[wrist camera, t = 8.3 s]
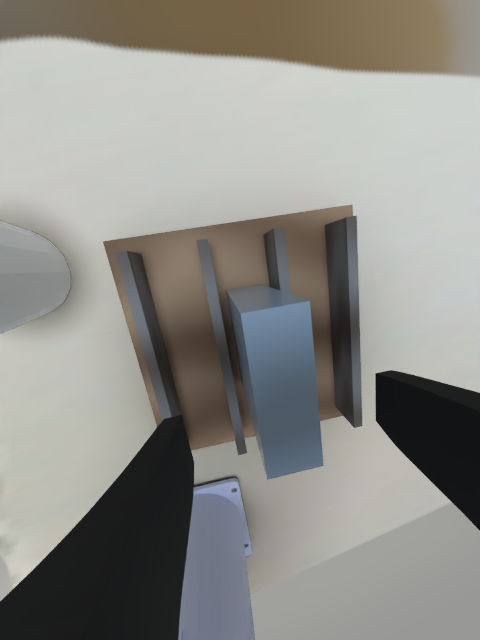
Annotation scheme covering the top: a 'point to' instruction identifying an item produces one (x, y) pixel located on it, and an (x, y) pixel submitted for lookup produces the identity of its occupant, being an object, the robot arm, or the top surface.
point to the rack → (214, 317)
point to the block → (278, 376)
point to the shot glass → (29, 276)
